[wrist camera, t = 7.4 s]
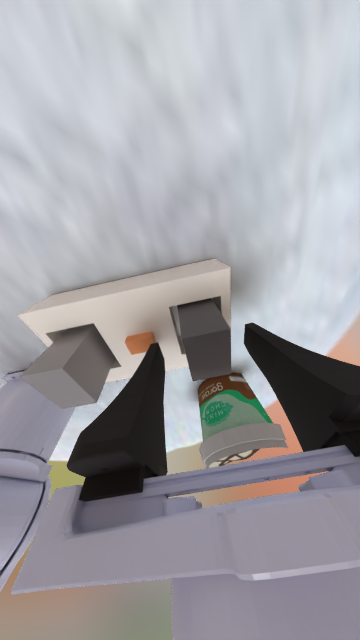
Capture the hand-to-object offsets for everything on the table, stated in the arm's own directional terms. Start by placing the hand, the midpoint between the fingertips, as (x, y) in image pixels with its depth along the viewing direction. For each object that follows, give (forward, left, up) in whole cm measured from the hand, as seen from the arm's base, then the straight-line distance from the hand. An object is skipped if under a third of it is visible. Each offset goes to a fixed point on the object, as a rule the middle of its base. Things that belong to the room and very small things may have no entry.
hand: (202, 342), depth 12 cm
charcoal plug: (-11, 0, -5) cm, 12 cm away
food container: (+1, -16, -6) cm, 17 cm away
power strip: (-5, 0, -6) cm, 8 cm away
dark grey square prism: (0, +1, -5) cm, 5 cm away
